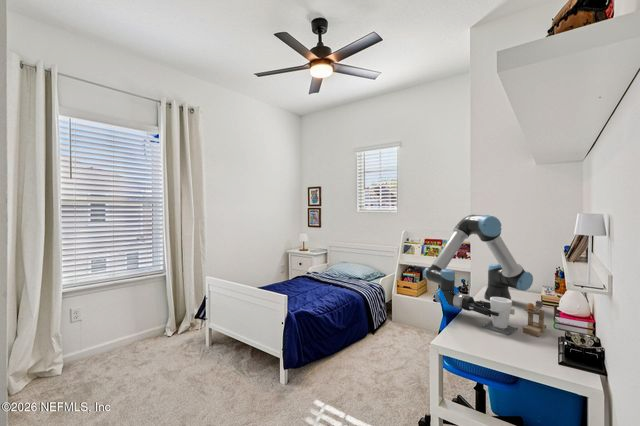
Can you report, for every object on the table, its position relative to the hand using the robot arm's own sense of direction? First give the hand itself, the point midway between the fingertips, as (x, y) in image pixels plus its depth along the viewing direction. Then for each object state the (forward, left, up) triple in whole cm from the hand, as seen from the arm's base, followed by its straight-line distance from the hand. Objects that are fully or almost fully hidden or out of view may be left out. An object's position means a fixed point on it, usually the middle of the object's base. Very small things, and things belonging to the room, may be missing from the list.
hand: (510, 314), depth 149 cm
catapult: (-9, +8, -8) cm, 14 cm away
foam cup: (0, -4, -7) cm, 8 cm away
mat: (0, -4, -8) cm, 9 cm away
